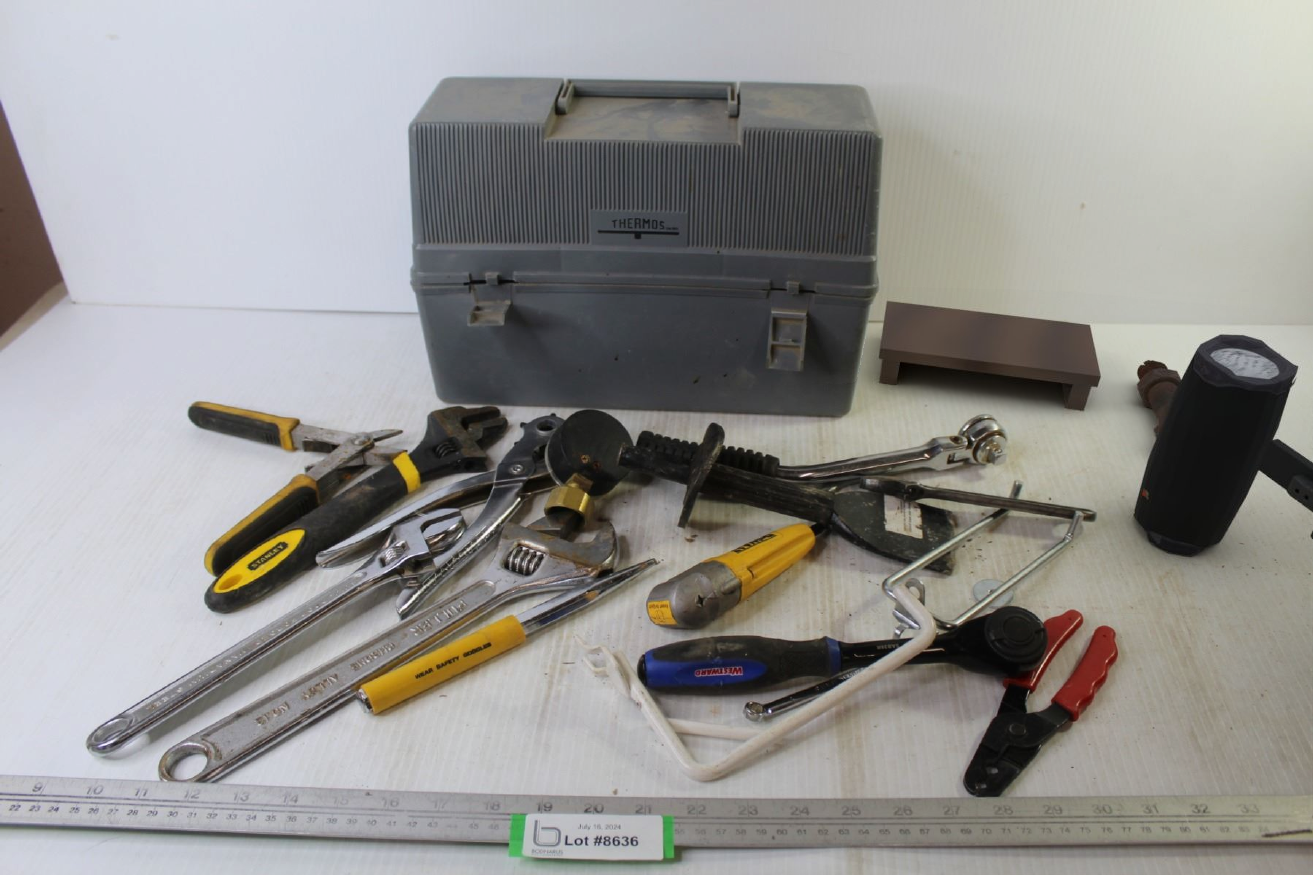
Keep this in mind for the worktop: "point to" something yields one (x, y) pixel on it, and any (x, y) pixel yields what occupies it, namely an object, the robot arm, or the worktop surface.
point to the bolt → (1157, 388)
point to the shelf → (990, 346)
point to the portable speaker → (1212, 442)
